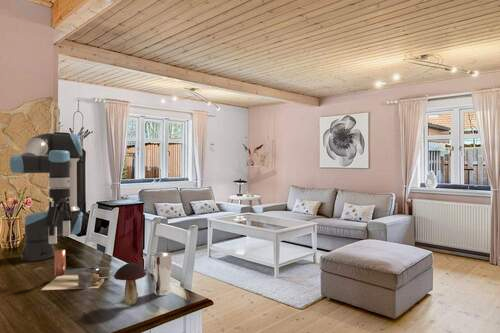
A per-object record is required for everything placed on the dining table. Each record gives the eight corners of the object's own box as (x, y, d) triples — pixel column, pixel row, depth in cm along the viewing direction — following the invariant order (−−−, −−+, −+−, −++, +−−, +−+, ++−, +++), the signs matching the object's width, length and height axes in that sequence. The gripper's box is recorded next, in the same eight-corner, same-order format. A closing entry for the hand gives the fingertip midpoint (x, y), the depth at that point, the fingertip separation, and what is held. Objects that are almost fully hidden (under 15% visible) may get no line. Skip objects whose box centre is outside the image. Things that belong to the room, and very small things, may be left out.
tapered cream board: (63, 275, 152) (62, 260, 152) (112, 273, 155) (112, 259, 155) (40, 294, 131) (40, 277, 131) (98, 291, 134) (98, 275, 134)
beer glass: (155, 289, 137) (155, 252, 136) (173, 289, 137) (173, 251, 137) (151, 296, 130) (151, 257, 129) (170, 296, 130) (170, 256, 130)
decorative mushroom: (152, 301, 126) (152, 260, 125) (133, 313, 115) (133, 269, 115) (127, 297, 129) (127, 257, 129) (106, 309, 119) (106, 265, 118)
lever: (57, 275, 144) (57, 249, 144) (111, 273, 147) (111, 247, 147) (52, 280, 139) (52, 252, 139) (107, 278, 142) (107, 250, 142)
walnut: (89, 281, 141) (89, 272, 140) (100, 281, 141) (99, 271, 141) (86, 285, 137) (86, 275, 137) (96, 284, 137) (96, 274, 137)
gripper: (56, 190, 129) (56, 246, 130) (80, 185, 154) (80, 233, 154) (34, 190, 128) (35, 247, 129) (62, 185, 153) (62, 233, 153)
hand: (59, 239), depth 142 cm, fingers open, 13 cm apart
